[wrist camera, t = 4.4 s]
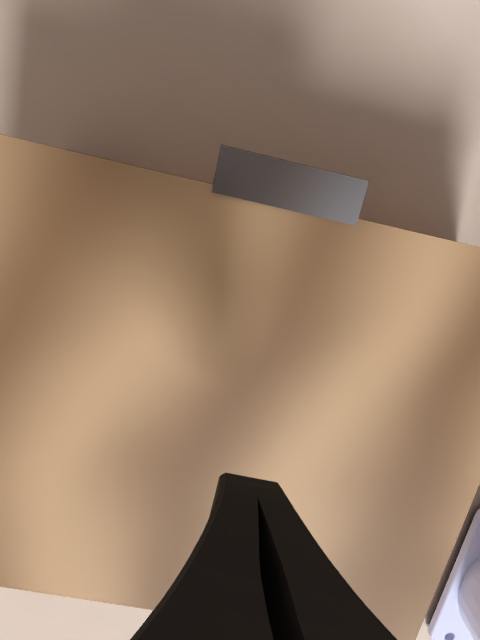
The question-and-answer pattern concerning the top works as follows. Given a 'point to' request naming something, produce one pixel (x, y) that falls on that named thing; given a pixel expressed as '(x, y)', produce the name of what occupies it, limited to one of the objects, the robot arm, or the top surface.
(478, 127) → the top surface
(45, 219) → the box lid
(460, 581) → the robot arm
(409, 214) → the top surface
